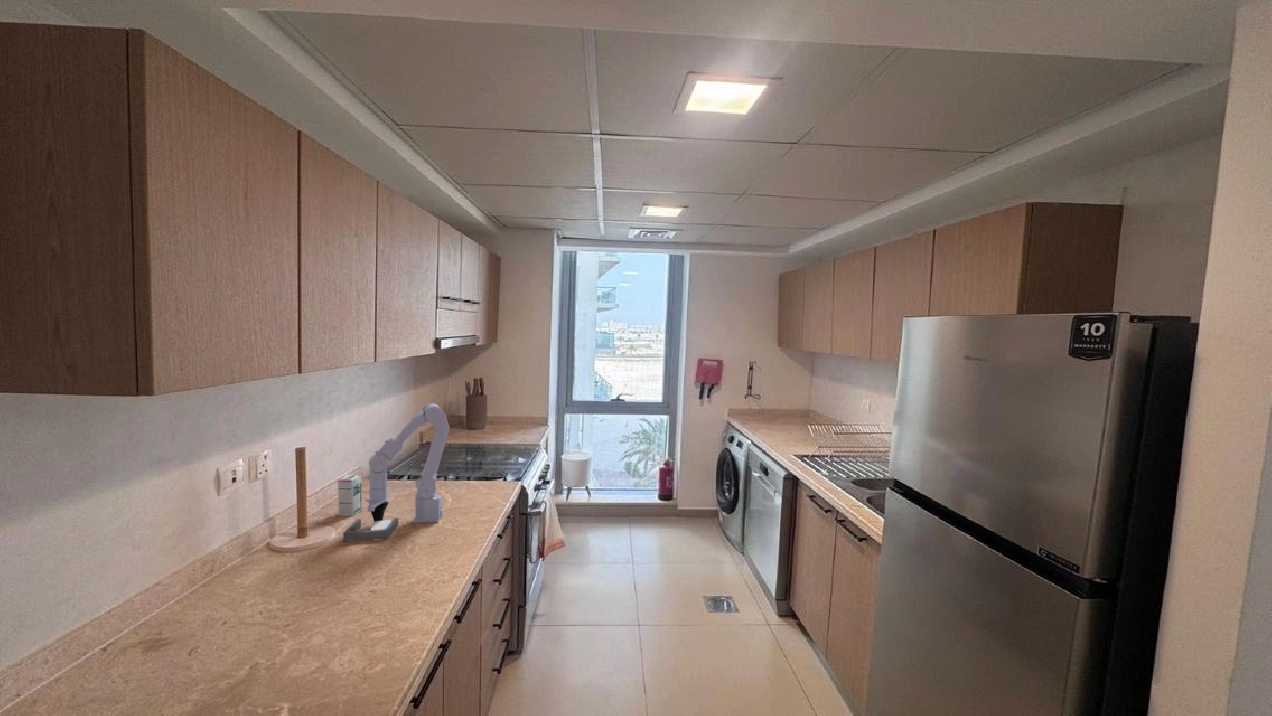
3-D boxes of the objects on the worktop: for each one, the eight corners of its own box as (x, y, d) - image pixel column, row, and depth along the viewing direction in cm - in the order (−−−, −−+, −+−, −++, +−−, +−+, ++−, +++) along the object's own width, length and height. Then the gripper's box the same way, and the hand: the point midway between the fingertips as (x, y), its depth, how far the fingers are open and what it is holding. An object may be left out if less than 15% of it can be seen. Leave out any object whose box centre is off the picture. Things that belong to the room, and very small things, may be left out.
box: (398, 525, 179) (398, 518, 178) (387, 539, 167) (387, 531, 167) (357, 527, 176) (357, 519, 176) (343, 541, 165) (343, 532, 165)
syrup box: (353, 516, 186) (352, 479, 185) (337, 515, 186) (337, 478, 185) (361, 510, 192) (361, 474, 191) (347, 510, 192) (346, 474, 191)
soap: (386, 537, 170) (386, 529, 170) (369, 539, 168) (369, 530, 168) (391, 526, 178) (391, 519, 178) (374, 528, 177) (374, 520, 176)
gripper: (374, 481, 184) (374, 516, 184) (358, 494, 169) (358, 532, 170) (393, 480, 185) (393, 515, 186) (380, 493, 170) (380, 531, 171)
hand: (378, 523), depth 178 cm, fingers closed
